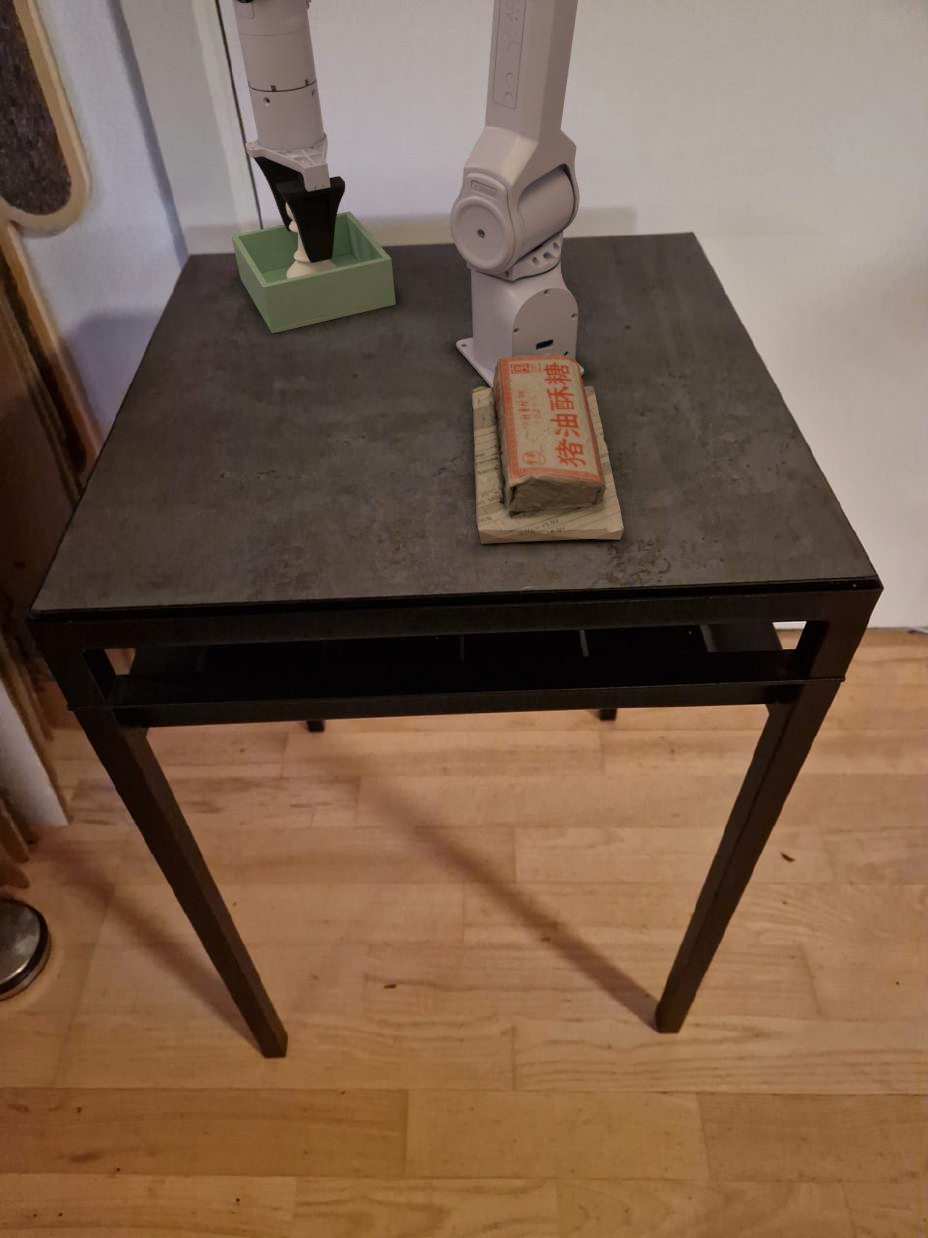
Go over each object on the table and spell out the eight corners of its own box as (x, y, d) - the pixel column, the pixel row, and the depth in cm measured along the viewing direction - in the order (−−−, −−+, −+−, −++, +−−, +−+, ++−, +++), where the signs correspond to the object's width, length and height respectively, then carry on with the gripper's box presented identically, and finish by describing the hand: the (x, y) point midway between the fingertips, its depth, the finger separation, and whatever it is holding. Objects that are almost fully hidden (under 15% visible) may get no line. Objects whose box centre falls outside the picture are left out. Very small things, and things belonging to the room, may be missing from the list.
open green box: (395, 304, 85) (391, 258, 82) (272, 333, 82) (262, 286, 79) (355, 254, 93) (349, 210, 90) (240, 279, 90) (230, 234, 87)
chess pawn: (282, 298, 86) (263, 201, 80) (297, 274, 89) (281, 180, 83) (332, 300, 85) (318, 203, 79) (346, 276, 89) (333, 181, 82)
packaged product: (470, 349, 70) (597, 344, 70) (471, 402, 73) (592, 398, 73) (475, 492, 57) (631, 486, 57) (477, 548, 61) (623, 543, 61)
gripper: (216, 66, 78) (248, 223, 88) (257, 114, 69) (288, 284, 79) (293, 54, 80) (317, 209, 90) (344, 99, 71) (364, 267, 80)
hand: (308, 243), depth 84 cm, fingers open, 7 cm apart
